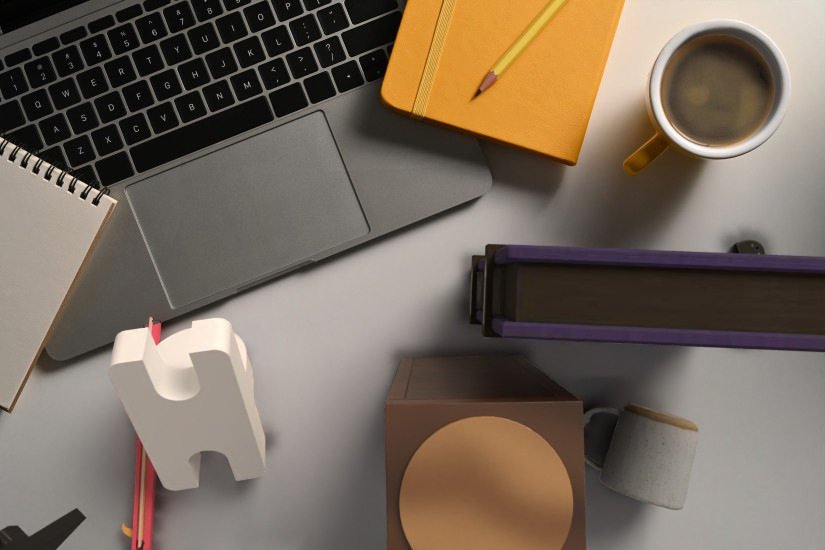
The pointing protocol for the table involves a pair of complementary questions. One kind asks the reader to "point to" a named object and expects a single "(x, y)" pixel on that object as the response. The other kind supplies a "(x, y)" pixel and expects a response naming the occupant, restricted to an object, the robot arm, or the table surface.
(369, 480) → the table surface
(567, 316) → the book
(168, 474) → the white slotted bracket
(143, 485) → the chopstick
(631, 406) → the ceramic mug
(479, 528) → the brown square coaster
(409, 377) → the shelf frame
